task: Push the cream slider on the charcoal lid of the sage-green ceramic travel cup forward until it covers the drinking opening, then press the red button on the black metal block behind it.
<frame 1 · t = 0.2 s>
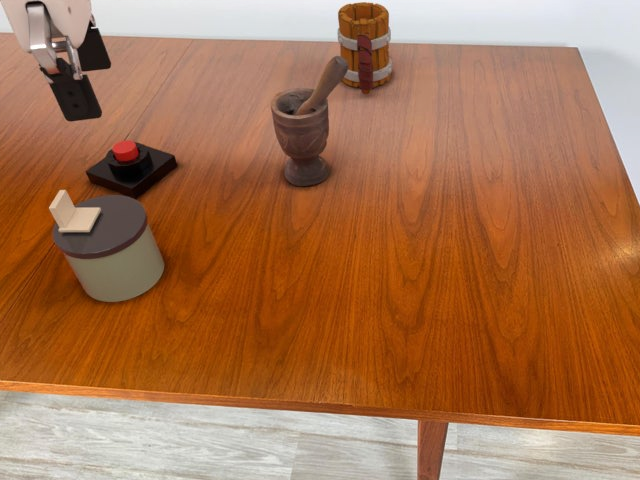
hand: (91, 92, 57), 29 cm above the table, tool pointing down, fingers open, 9 cm apart
mortar and pestle: (317, 173, 97), on the table
button block: (134, 174, 97), on the table
mug: (365, 83, 117), on the table
button: (125, 151, 93), point 4 cm above the table, slide at 0.1 cm
travel cup: (123, 272, 81), on the table
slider: (75, 209, 73), point 11 cm above the table, slide at 0.0 cm
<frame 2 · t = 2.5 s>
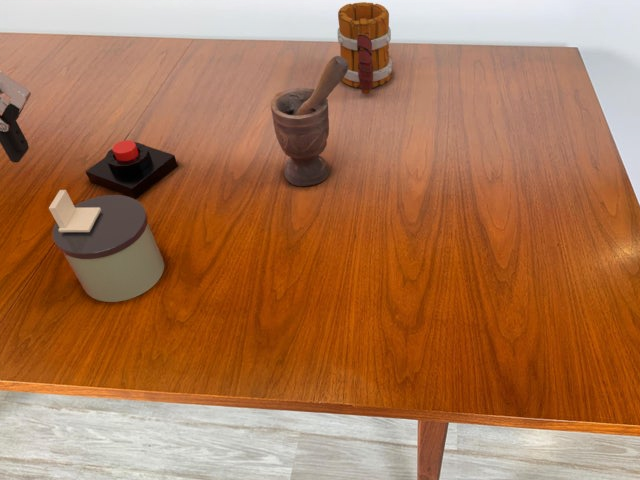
nothing on the table moved.
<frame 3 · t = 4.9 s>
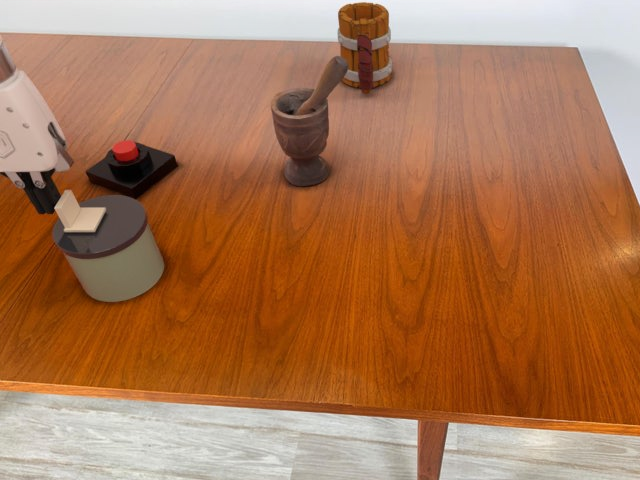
hand: (50, 206, 73), 12 cm above the table, tool pointing down, fingers closed
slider: (80, 209, 73), point 11 cm above the table, slide at 0.7 cm, touching gripper
everything else where it was.
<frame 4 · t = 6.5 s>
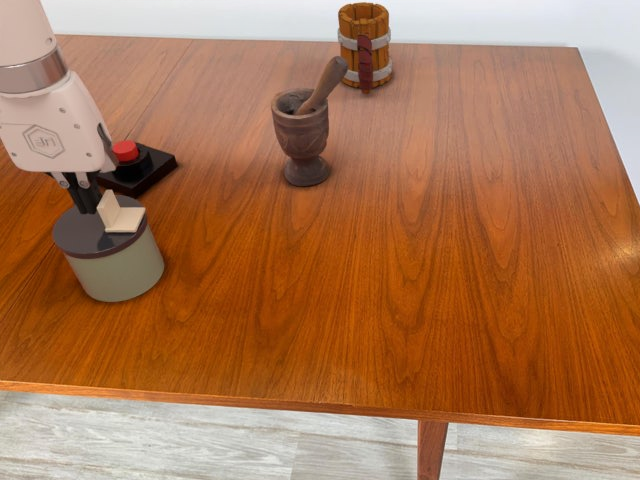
hand: (92, 207, 72), 12 cm above the table, tool pointing down, fingers closed
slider: (121, 209, 73), point 11 cm above the table, slide at 5.8 cm, touching gripper
everything else where it was.
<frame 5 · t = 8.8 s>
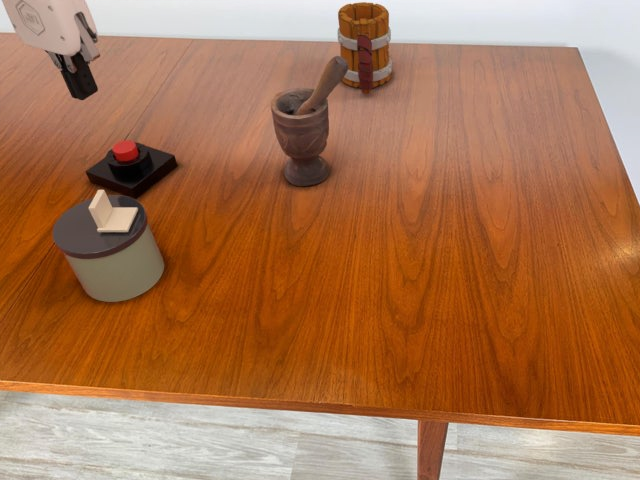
hand: (85, 94, 79), 18 cm above the table, tool pointing down, fingers closed
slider: (113, 209, 73), point 11 cm above the table, slide at 4.9 cm
everything else where it was.
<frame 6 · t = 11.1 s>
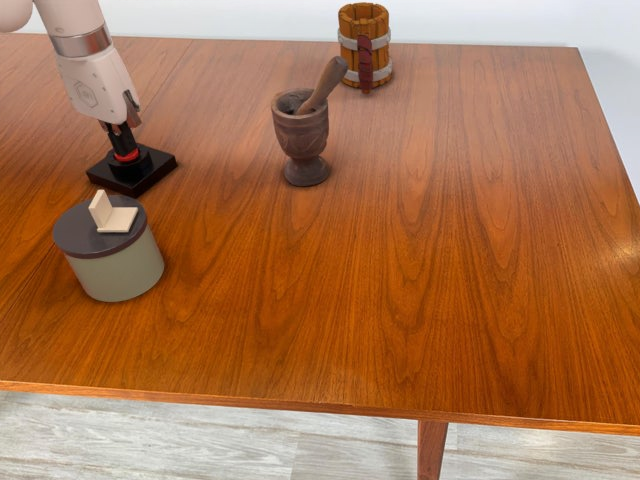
hand: (127, 151, 93), 4 cm above the table, tool pointing down, fingers closed
button: (127, 156, 94), point 4 cm above the table, slide at -0.9 cm, touching gripper
everything else where it was.
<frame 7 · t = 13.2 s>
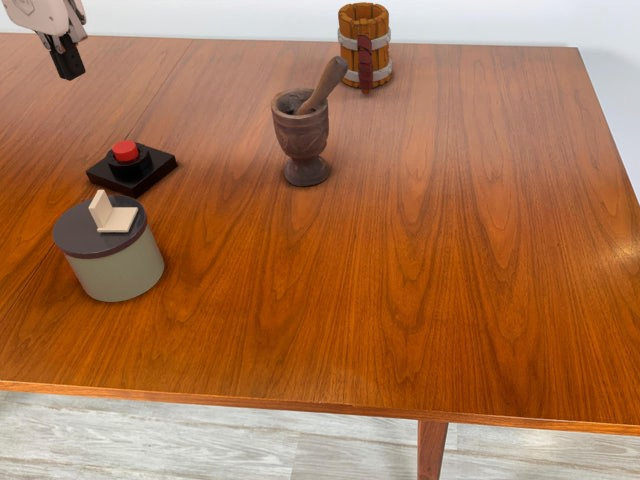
hand: (73, 75, 82), 18 cm above the table, tool pointing down, fingers closed
button: (125, 151, 93), point 4 cm above the table, slide at 0.1 cm
everything else where it was.
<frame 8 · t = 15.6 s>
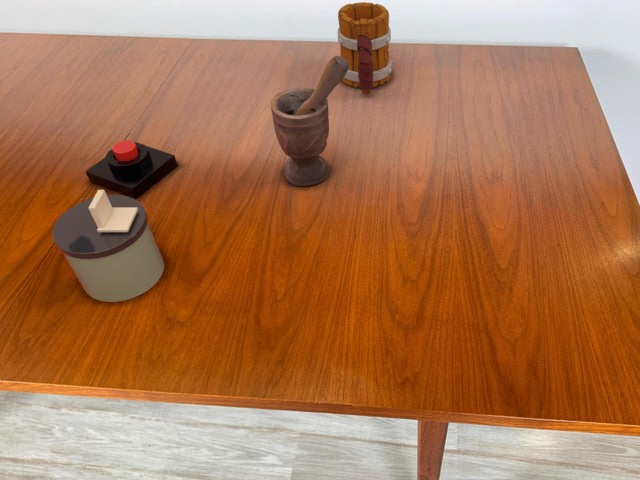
nothing on the table moved.
at the end: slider slide at 4.9 cm; button pushed in 1.1 cm at the most during the clip, back to where it started at the end; button slide at 0.1 cm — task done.
